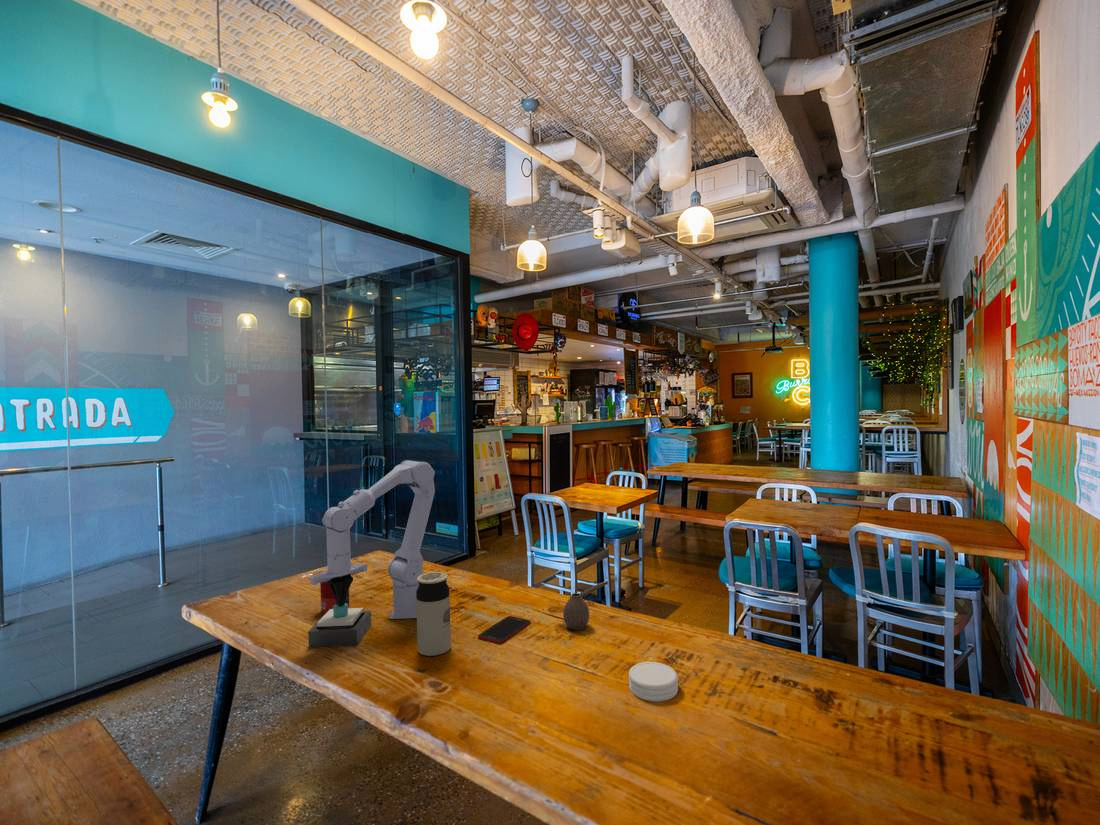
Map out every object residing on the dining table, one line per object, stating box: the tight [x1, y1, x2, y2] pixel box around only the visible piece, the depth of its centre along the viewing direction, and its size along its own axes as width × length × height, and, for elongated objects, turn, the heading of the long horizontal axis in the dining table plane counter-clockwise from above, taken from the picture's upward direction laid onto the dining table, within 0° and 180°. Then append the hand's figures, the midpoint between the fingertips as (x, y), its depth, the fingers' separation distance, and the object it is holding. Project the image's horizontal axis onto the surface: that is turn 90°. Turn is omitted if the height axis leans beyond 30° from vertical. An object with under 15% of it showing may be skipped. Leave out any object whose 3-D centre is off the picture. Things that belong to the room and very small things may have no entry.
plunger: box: [316, 603, 364, 627], centre depth 137 cm, size 9×9×4 cm
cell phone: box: [477, 615, 532, 645], centre depth 138 cm, size 8×15×1 cm, turn 150°
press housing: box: [307, 610, 372, 648], centre depth 137 cm, size 12×12×4 cm
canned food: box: [319, 581, 350, 615], centre depth 154 cm, size 8×8×11 cm
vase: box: [562, 592, 590, 631], centre depth 139 cm, size 7×7×9 cm
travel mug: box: [416, 571, 452, 657], centre depth 128 cm, size 8×8×18 cm
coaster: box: [628, 661, 679, 702], centre depth 108 cm, size 10×10×4 cm
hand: (340, 604), depth 137 cm, fingers closed
